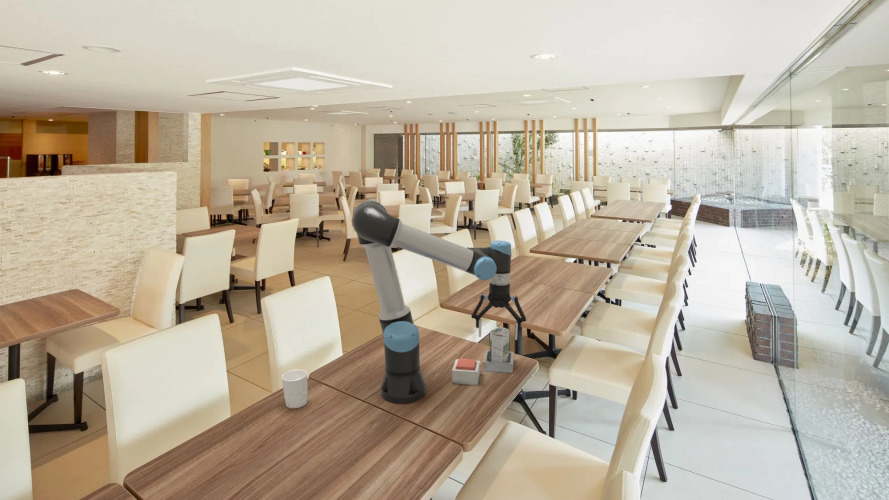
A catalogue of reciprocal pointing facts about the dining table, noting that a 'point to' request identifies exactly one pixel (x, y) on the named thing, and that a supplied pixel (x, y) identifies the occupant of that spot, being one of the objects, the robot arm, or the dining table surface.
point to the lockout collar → (498, 364)
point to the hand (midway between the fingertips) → (497, 337)
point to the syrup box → (499, 345)
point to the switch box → (466, 375)
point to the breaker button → (466, 364)
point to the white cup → (295, 388)
